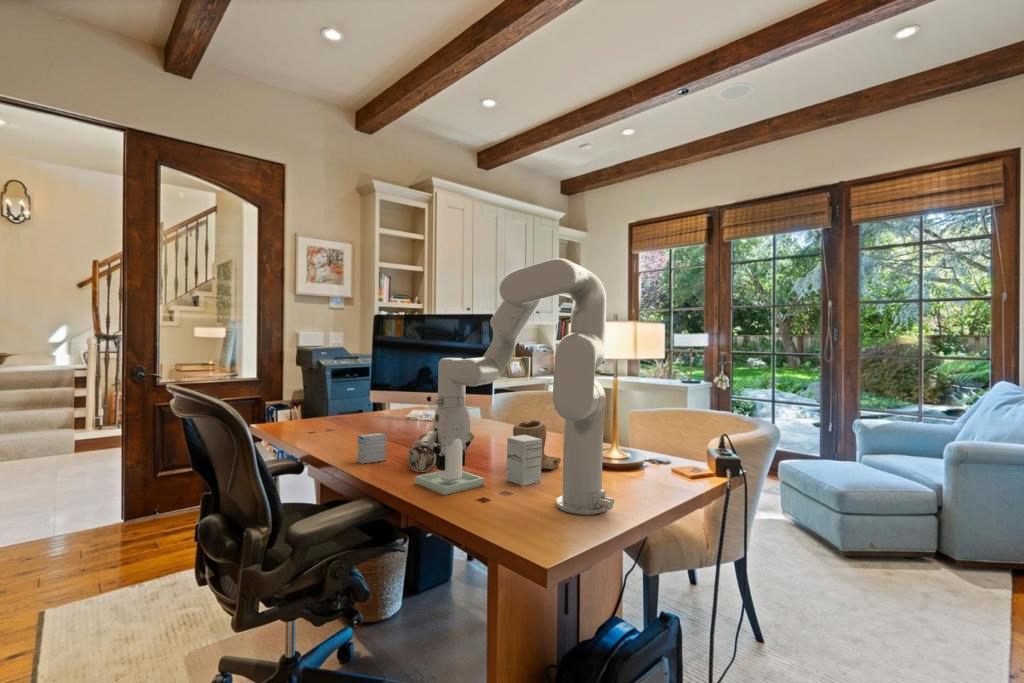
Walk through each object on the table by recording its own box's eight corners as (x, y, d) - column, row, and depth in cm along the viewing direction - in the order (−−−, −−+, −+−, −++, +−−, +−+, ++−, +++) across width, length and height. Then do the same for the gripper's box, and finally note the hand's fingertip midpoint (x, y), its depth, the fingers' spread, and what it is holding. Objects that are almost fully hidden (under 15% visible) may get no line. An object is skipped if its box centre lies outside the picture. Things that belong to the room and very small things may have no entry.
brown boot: (506, 471, 150) (507, 422, 150) (515, 462, 161) (516, 416, 161) (555, 475, 146) (556, 425, 146) (561, 465, 158) (562, 419, 158)
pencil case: (435, 474, 146) (435, 441, 146) (406, 473, 145) (407, 441, 145) (443, 456, 167) (444, 428, 167) (418, 456, 167) (419, 427, 167)
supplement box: (505, 480, 139) (506, 436, 139) (524, 476, 144) (525, 434, 144) (522, 487, 134) (523, 441, 134) (541, 482, 139) (542, 438, 139)
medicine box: (379, 458, 163) (380, 432, 163) (385, 461, 159) (386, 434, 159) (357, 461, 157) (357, 435, 157) (362, 464, 154) (363, 437, 154)
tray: (484, 485, 134) (484, 478, 134) (444, 495, 125) (444, 487, 125) (454, 475, 144) (454, 468, 144) (415, 483, 135) (415, 476, 135)
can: (464, 475, 137) (464, 432, 137) (459, 481, 131) (460, 436, 131) (441, 474, 138) (442, 431, 138) (435, 480, 131) (436, 436, 131)
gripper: (433, 406, 126) (432, 476, 126) (484, 401, 138) (483, 464, 138) (417, 403, 131) (416, 470, 131) (467, 398, 143) (466, 460, 143)
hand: (450, 466), depth 134 cm, fingers closed on can, 6 cm apart
